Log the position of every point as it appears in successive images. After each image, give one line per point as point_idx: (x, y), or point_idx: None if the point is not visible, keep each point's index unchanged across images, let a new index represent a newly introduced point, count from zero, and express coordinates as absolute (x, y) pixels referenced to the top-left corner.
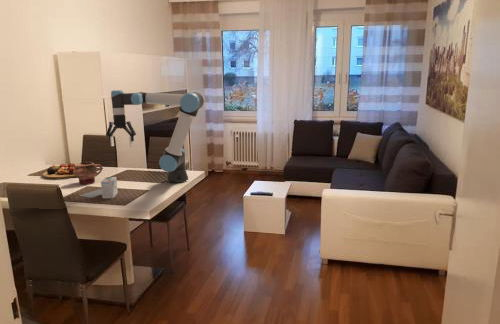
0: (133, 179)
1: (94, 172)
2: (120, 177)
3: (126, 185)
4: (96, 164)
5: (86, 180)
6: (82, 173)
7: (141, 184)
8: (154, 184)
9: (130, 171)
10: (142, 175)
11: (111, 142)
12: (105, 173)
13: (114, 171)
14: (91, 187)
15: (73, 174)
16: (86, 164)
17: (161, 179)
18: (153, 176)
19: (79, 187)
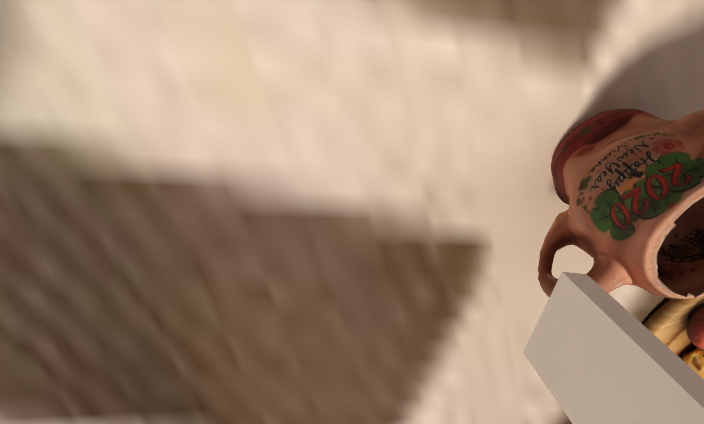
0: (273, 242)
1: (592, 176)
2: (389, 292)
3: (270, 62)
4: (611, 283)
5: (618, 121)
6: (696, 118)
7: (139, 86)
8: (2, 77)
9: (360, 419)
10: (241, 341)
11: (648, 347)
12: (508, 374)
13: (461, 414)
14: (553, 20)
15: (701, 305)
16: (695, 283)
17: (23, 239)
18: (141, 319)
19: (643, 30)
